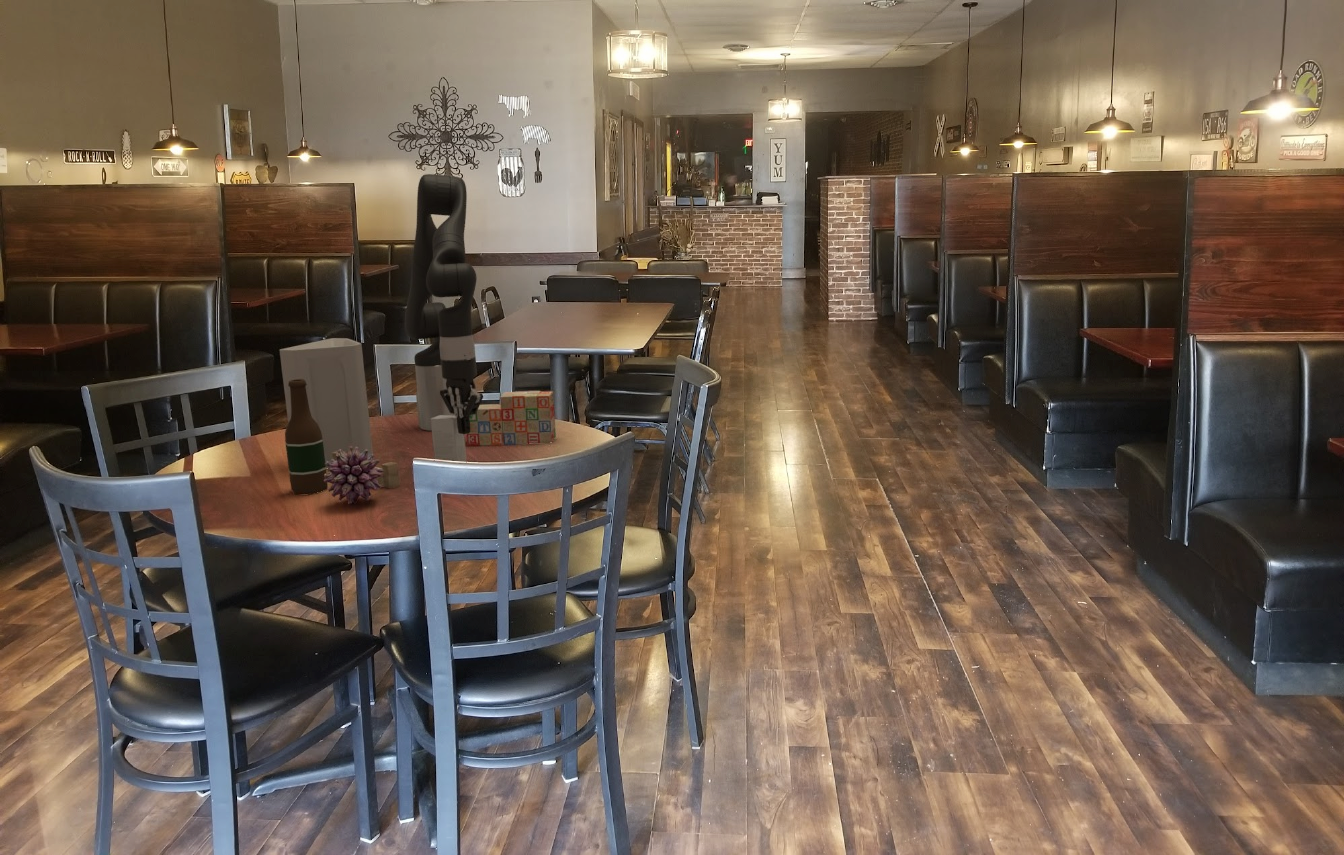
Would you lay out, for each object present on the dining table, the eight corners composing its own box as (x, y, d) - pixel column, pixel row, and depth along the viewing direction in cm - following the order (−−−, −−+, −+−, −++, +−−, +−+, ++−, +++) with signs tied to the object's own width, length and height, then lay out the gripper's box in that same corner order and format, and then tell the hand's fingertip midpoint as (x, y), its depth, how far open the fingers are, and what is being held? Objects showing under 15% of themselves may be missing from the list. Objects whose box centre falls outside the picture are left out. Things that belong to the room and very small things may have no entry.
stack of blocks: (466, 446, 271) (462, 397, 269) (472, 440, 277) (468, 392, 275) (552, 444, 270) (549, 394, 267) (556, 438, 276) (553, 390, 273)
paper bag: (344, 473, 249) (331, 351, 243) (292, 469, 255) (277, 350, 249) (394, 453, 267) (383, 338, 261) (344, 450, 272) (332, 338, 266)
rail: (334, 474, 249) (332, 452, 248) (343, 471, 250) (341, 450, 249) (390, 488, 234) (388, 465, 233) (399, 485, 236) (397, 463, 235)
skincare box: (467, 466, 250) (463, 415, 248) (458, 471, 246) (453, 419, 244) (444, 465, 252) (439, 414, 250) (434, 470, 248) (429, 418, 246)
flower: (347, 515, 216) (341, 456, 213) (315, 505, 224) (308, 448, 221) (397, 501, 224) (391, 444, 222) (364, 492, 232) (358, 437, 229)
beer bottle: (295, 486, 239) (282, 378, 234) (332, 484, 240) (320, 376, 235) (286, 496, 232) (273, 384, 226) (324, 494, 232) (311, 382, 227)
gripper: (425, 356, 241) (432, 433, 245) (462, 360, 233) (469, 440, 237) (453, 351, 247) (459, 426, 251) (490, 355, 238) (496, 433, 242)
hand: (464, 433), depth 244 cm, fingers closed
